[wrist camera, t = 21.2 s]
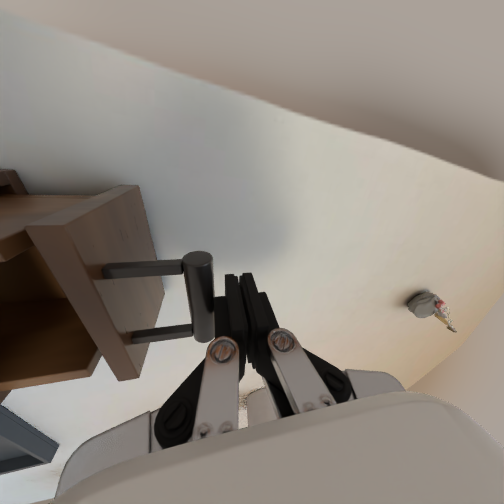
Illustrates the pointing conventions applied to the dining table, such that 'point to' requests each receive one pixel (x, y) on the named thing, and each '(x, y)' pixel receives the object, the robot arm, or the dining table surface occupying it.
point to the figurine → (429, 308)
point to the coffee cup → (259, 408)
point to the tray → (22, 444)
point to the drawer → (87, 287)
